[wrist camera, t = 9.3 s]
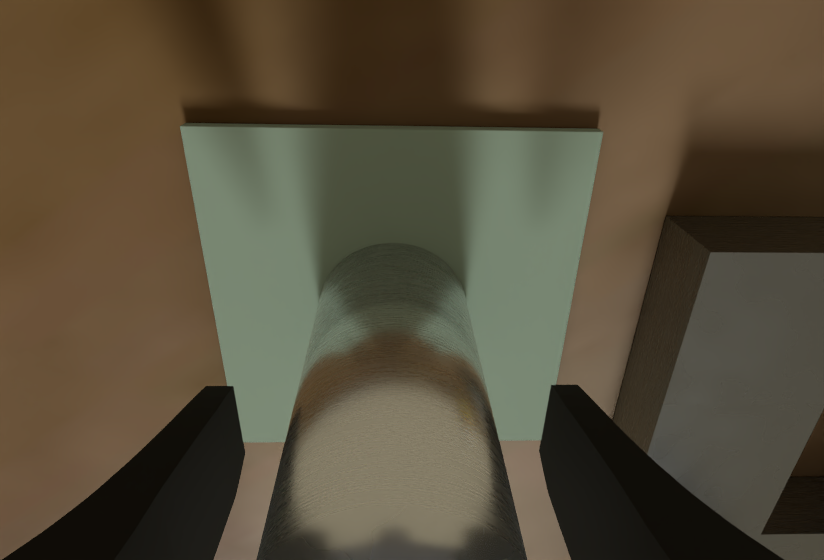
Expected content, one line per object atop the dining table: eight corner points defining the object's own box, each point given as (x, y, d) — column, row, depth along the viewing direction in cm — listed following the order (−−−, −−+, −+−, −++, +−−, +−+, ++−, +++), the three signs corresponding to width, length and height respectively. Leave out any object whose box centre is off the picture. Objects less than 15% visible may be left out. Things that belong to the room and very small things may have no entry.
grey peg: (462, 367, 18) (517, 672, 10) (324, 368, 17) (268, 680, 10) (469, 242, 15) (549, 503, 8) (313, 243, 15) (228, 510, 7)
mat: (542, 431, 20) (545, 440, 19) (240, 434, 19) (237, 442, 19) (598, 128, 14) (603, 131, 14) (185, 122, 14) (179, 126, 14)
